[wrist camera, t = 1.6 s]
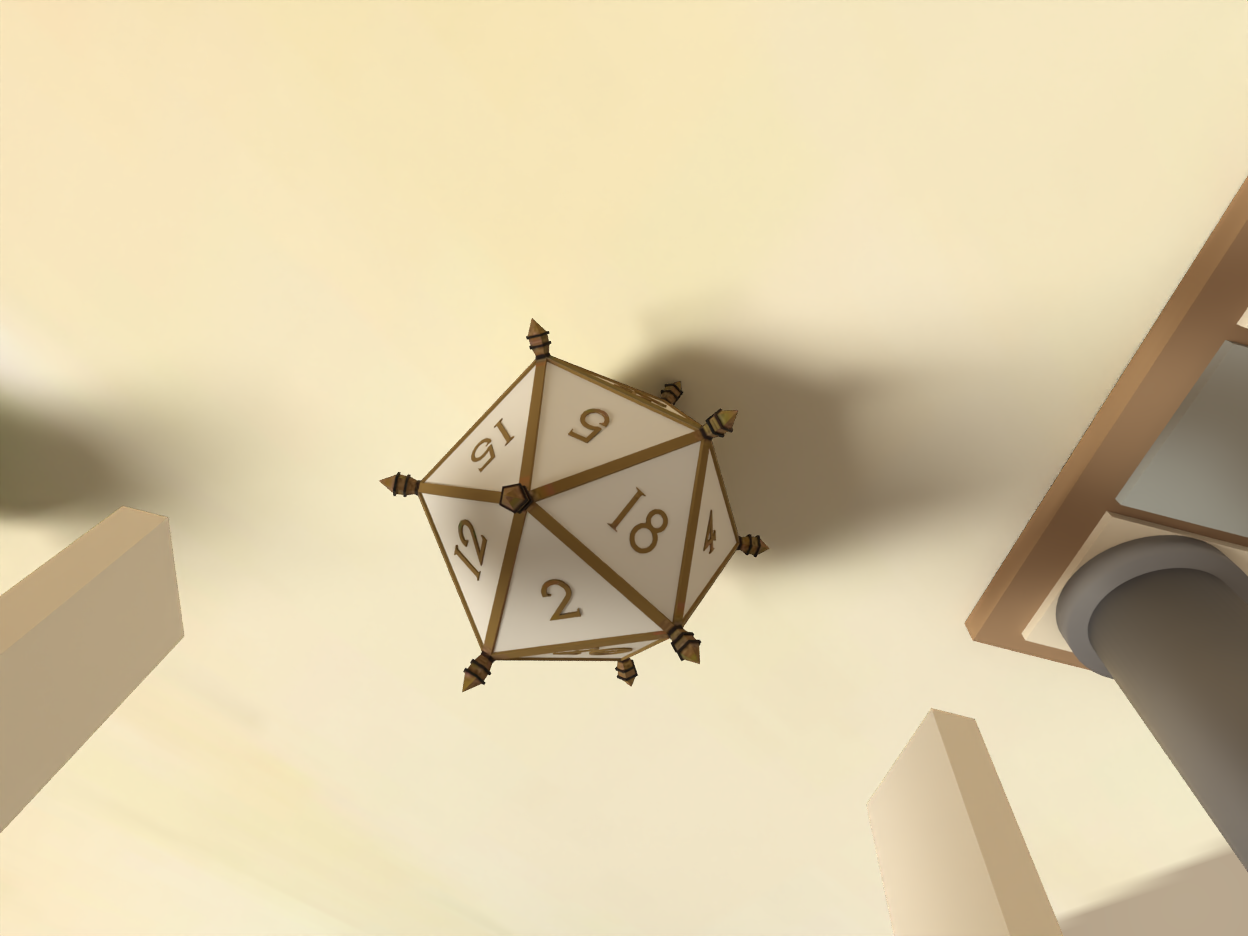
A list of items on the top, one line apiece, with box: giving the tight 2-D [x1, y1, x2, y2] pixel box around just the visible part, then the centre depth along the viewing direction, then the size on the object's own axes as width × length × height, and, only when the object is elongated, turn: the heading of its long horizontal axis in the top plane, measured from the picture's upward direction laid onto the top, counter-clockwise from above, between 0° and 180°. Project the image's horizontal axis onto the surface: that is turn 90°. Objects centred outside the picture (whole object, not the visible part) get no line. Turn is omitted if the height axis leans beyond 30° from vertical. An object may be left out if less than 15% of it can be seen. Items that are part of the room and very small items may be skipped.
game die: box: [380, 318, 770, 692], centre depth 17 cm, size 9×8×10 cm
